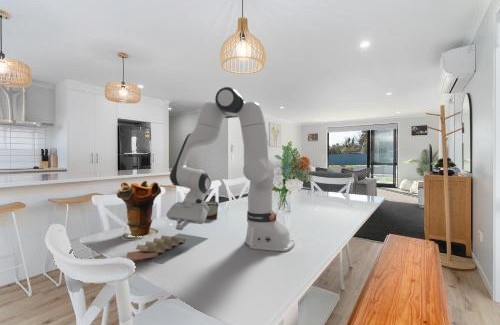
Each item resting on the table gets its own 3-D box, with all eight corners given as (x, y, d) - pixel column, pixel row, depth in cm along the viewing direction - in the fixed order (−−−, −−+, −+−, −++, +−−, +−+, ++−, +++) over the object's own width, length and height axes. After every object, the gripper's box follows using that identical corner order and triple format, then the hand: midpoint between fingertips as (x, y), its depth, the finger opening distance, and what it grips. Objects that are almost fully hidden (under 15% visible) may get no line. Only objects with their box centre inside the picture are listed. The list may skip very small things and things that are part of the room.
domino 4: (170, 240, 108) (154, 238, 99) (179, 242, 105) (163, 239, 97) (169, 244, 107) (153, 242, 99) (178, 246, 105) (162, 244, 97)
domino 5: (177, 237, 111) (161, 235, 103) (185, 239, 109) (170, 236, 101) (176, 241, 111) (160, 239, 102) (184, 242, 109) (169, 240, 100)
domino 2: (156, 246, 100) (137, 244, 92) (165, 248, 98) (146, 246, 90) (155, 250, 100) (136, 249, 92) (164, 252, 98) (145, 251, 89)
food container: (221, 216, 156) (221, 201, 155) (219, 219, 150) (218, 203, 149) (202, 216, 157) (202, 201, 157) (199, 219, 151) (199, 203, 150)
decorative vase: (147, 224, 140) (147, 175, 138) (170, 234, 125) (170, 180, 123) (108, 233, 124) (107, 179, 122) (129, 246, 109) (128, 185, 107)
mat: (208, 240, 114) (208, 238, 114) (161, 266, 88) (161, 264, 88) (179, 234, 122) (179, 233, 122) (127, 257, 96) (127, 255, 96)
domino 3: (163, 243, 104) (146, 241, 96) (172, 245, 102) (155, 243, 94) (162, 247, 103) (144, 245, 95) (171, 249, 101) (154, 247, 93)
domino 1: (149, 250, 97) (127, 252, 88) (158, 252, 95) (137, 254, 86) (148, 254, 97) (126, 257, 88) (157, 256, 94) (136, 259, 86)
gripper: (172, 198, 119) (157, 223, 111) (206, 201, 111) (193, 228, 102) (178, 205, 124) (165, 229, 115) (212, 208, 115) (200, 235, 106)
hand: (178, 229), depth 109 cm, fingers closed
